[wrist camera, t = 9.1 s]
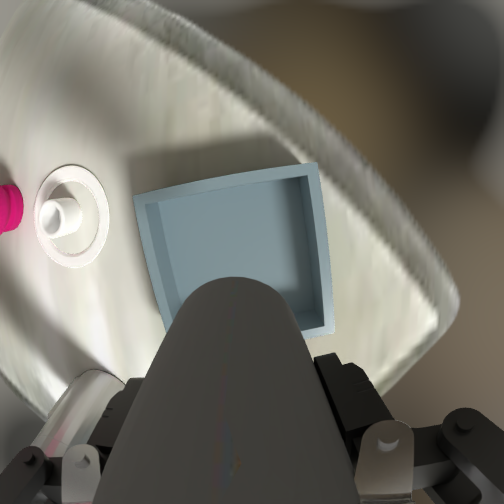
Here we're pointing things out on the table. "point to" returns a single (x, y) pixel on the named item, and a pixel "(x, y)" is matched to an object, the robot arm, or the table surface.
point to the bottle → (230, 411)
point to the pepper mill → (10, 208)
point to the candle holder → (68, 216)
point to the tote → (242, 239)
